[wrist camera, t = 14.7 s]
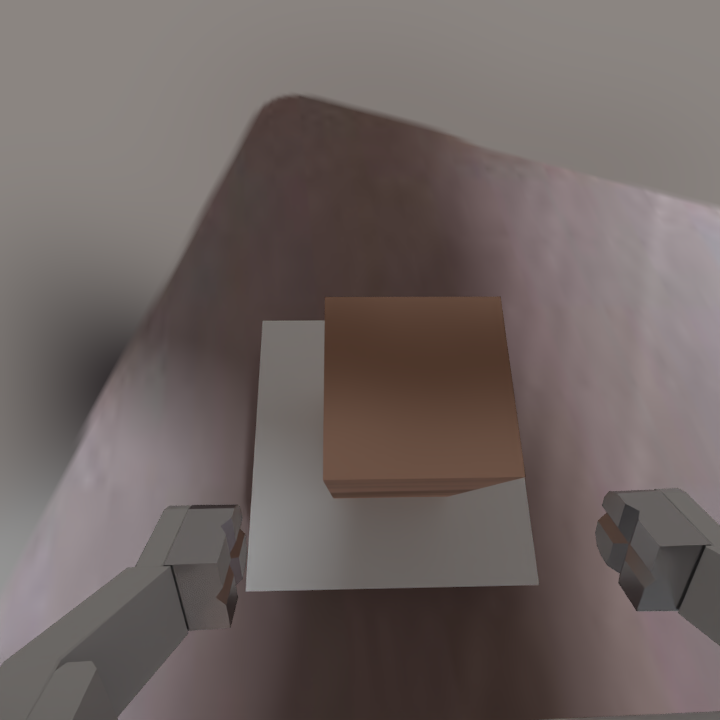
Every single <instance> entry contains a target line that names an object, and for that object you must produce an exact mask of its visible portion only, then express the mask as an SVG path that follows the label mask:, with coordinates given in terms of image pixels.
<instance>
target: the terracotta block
mask: <svg viewBox="0 0 720 720" xmlns="http://www.w3.org/2000/svg"><path fill="white" fill-rule="evenodd" d="M524 477H525V470H524V463H523V455H522V448H521V441H520V434H519V427H518V419H517V412H516V405H515V398H514V390H513V383H512V376H511V369H510V362H509V354H508V347H507V340H506V333H505V325H504V318H503V311H502V304H501V297H325V330H324V421H323V481H324V483H325V485H326V486H327V488H328V490H329V492H330V494H331V495H332V497H333V498H391V497H448V496H452V495H456V494H460V493H464V492H468V491H472V490H476V489H480V488H484V487H488V486H492V485H496V484H500V483H504V482H508V481H512V480H516V479H520V478H524Z"/></svg>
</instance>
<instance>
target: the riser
mask: <svg viewBox="0 0 720 720" xmlns="http://www.w3.org/2000/svg"><path fill="white" fill-rule="evenodd" d="M324 330H325V320H309V321H263V324H262V339H261V355H260V371H259V387H258V403H257V418H256V434H255V450H254V466H253V482H252V497H251V513H250V529H249V545H248V561H247V577H246V592H247V591H292V590H338V589H383V588H428V587H473V586H518V585H539V580H538V573H537V565H536V558H535V551H534V544H533V536H532V529H531V522H530V514H529V507H528V500H527V493H526V485H525V478H520V479H516V480H512V481H508V482H504V483H500V484H496V485H492V486H488V487H484V488H480V489H476V490H472V491H468V492H464V493H460V494H456V495H452V496H448V497H391V498H333V497H332V495H331V494H330V492H329V490H328V488H327V486H326V485H325V483H324V481H323V421H324Z"/></svg>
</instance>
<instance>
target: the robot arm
mask: <svg viewBox="0 0 720 720" xmlns="http://www.w3.org/2000/svg"><path fill="white" fill-rule="evenodd" d="M602 506H603V508H604V509H605V511H606V512H607V513H606V514H605V515H604V516H603V517H601V518H600V519H599V520H598V522H597V527H596V532H595V534H596V542H597V547H598V549H599V552H600V554H601V556H602V558H603V559H604V561H605V563H606V564H607V565H608V566H609V567H611V568H612V569H614V570H615V571H617V572H618V573H620V575H619V582H618V583H619V585H620V586H621V588H622V589H623V591H624V592H625V594H626V596H627V597H628V599H629V600H630V602H631V603H632V605H633V606H634V608H635V609H636V611H679V612H678V613H679V614H680V615H681V616H682V617H684V618H685V619H686V620H688V621H689V622H690V623H691V624H693V625H694V626H695V627H696V628H698V629H699V630H700V631H702V632H703V633H704V634H705V635H707V636H708V637H709V638H710V639H712V640H713V641H714V642H716V643H717V644H718V645H719V646H720V525H718V524H717V523H716V522H715V521H714V520H713V519H712V518H711V517H710V516H709V515H708V514H707V513H706V512H705V511H704V510H703V509H702V508H701V507H700V506H699V505H698V504H697V503H696V502H695V501H694V500H693V499H692V498H691V497H690V496H689V495H688V494H687V493H686V492H685V491H683V490H681V489H679V488H669V489H654V490H632V491H609V492H608V493H607V494H606V495H605V497H604V500H603V504H602ZM241 521H242V514H241V509H240V506H238V505H192V506H169V507H167V508H166V509H165V510H164V511H163V513H162V515H161V517H160V519H159V521H158V523H157V525H156V527H155V529H154V531H153V533H152V535H151V537H150V539H149V541H148V543H147V544H146V546H145V548H144V550H143V552H142V554H141V556H140V558H139V560H138V562H137V564H136V566H135V567H132V568H126V569H125V570H124V571H123V572H121V573H120V574H119V575H117V576H116V577H115V578H113V579H112V580H111V581H109V582H108V583H107V584H105V585H104V586H103V587H102V588H100V589H99V590H98V591H96V592H95V593H94V594H92V595H91V596H90V597H88V598H87V599H86V600H84V601H83V602H82V603H81V604H79V605H78V606H77V607H75V608H74V609H73V610H71V611H70V612H69V613H67V614H66V615H65V616H63V617H62V618H61V619H60V620H58V621H57V622H56V623H54V624H53V625H52V626H50V627H49V628H48V629H46V630H45V631H44V632H43V633H41V634H40V635H39V636H37V637H36V638H35V639H33V640H32V641H31V642H29V643H28V644H27V645H25V646H24V647H23V648H22V649H20V650H19V651H18V652H16V653H15V654H14V655H12V656H11V657H10V658H8V659H7V660H6V661H4V662H3V664H2V665H1V667H0V720H118V718H117V717H118V716H119V715H120V714H121V713H122V711H123V710H124V709H125V708H126V707H127V705H128V704H129V703H130V702H131V701H132V699H133V698H134V697H135V696H136V695H137V694H138V692H139V691H140V690H141V689H142V688H143V686H144V685H145V684H146V683H147V682H148V681H149V679H150V678H151V677H152V676H153V675H154V673H155V672H156V671H157V670H158V669H159V668H160V666H161V665H162V664H163V663H164V662H165V660H166V659H167V658H168V657H169V656H170V654H171V653H172V652H173V651H174V650H175V649H176V647H177V646H178V645H179V644H180V643H181V641H182V640H183V639H184V638H185V637H186V636H187V634H188V631H192V630H206V629H220V628H231V624H232V620H233V616H234V612H235V608H236V604H237V600H238V595H237V589H236V585H237V584H238V583H239V582H240V581H241V580H242V579H243V575H244V570H245V564H246V554H247V550H246V537H245V533H244V532H243V531H241V530H240V525H241ZM541 720H720V711H715V712H693V713H671V714H650V715H628V716H606V717H584V718H563V719H541Z"/></svg>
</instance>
